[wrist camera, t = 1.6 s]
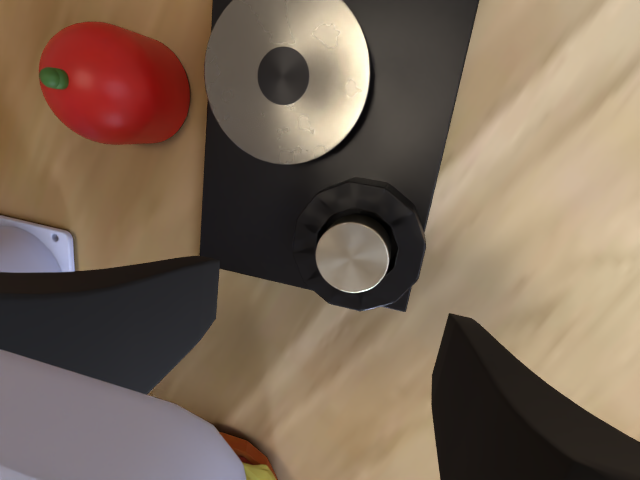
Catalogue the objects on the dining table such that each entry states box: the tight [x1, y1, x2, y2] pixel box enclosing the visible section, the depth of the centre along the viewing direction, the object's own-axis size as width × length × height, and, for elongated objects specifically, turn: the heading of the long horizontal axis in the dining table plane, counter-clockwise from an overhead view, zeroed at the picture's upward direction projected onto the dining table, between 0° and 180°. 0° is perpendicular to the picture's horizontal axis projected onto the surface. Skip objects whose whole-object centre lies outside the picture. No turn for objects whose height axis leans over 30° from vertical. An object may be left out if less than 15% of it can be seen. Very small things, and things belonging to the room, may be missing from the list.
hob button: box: [315, 214, 391, 293], centre depth 17 cm, size 3×3×2 cm
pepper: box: [39, 22, 190, 145], centre depth 18 cm, size 5×5×6 cm
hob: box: [200, 0, 479, 312], centre depth 18 cm, size 12×16×3 cm
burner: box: [204, 0, 371, 165], centre depth 17 cm, size 8×8×1 cm
